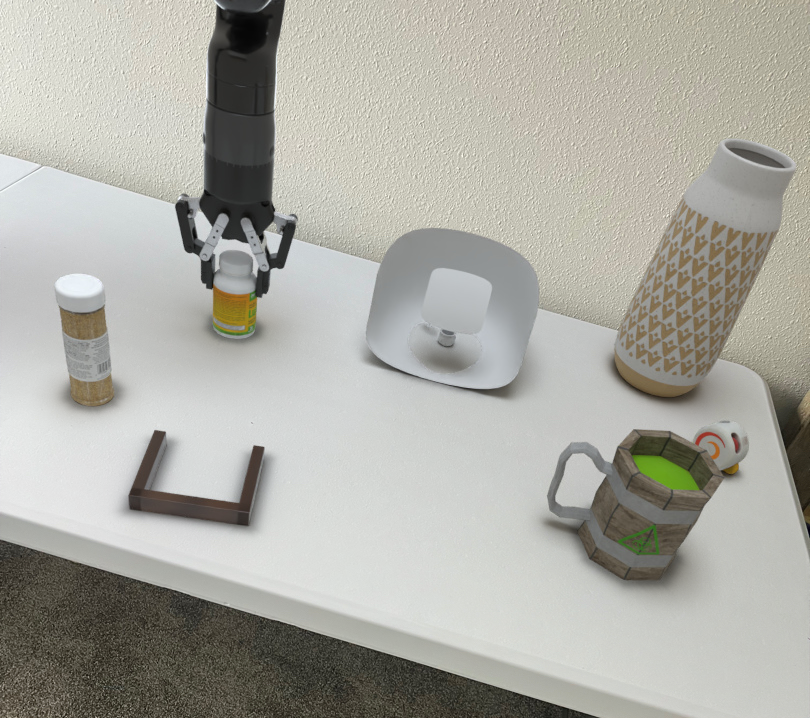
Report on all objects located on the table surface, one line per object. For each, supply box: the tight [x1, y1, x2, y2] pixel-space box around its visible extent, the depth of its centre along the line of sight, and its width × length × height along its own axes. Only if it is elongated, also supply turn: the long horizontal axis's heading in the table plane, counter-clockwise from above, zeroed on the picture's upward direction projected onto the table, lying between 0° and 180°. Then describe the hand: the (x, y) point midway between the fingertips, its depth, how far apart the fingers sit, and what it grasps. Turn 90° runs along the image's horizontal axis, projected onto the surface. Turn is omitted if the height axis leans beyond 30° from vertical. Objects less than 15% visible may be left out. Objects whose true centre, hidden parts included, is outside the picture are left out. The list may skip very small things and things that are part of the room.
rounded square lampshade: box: [365, 227, 540, 390], centre depth 103 cm, size 20×19×12 cm
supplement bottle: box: [212, 249, 258, 340], centre depth 97 cm, size 5×5×10 cm
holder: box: [127, 429, 266, 527], centre depth 79 cm, size 11×10×2 cm
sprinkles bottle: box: [53, 273, 115, 407], centre depth 81 cm, size 5×5×13 cm
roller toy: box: [691, 419, 750, 475], centre depth 97 cm, size 4×6×6 cm
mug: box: [546, 428, 725, 581], centre depth 81 cm, size 16×11×12 cm
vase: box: [613, 137, 797, 398], centre depth 100 cm, size 14×14×31 cm
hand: (235, 289), depth 96 cm, fingers closed on supplement bottle, 5 cm apart
